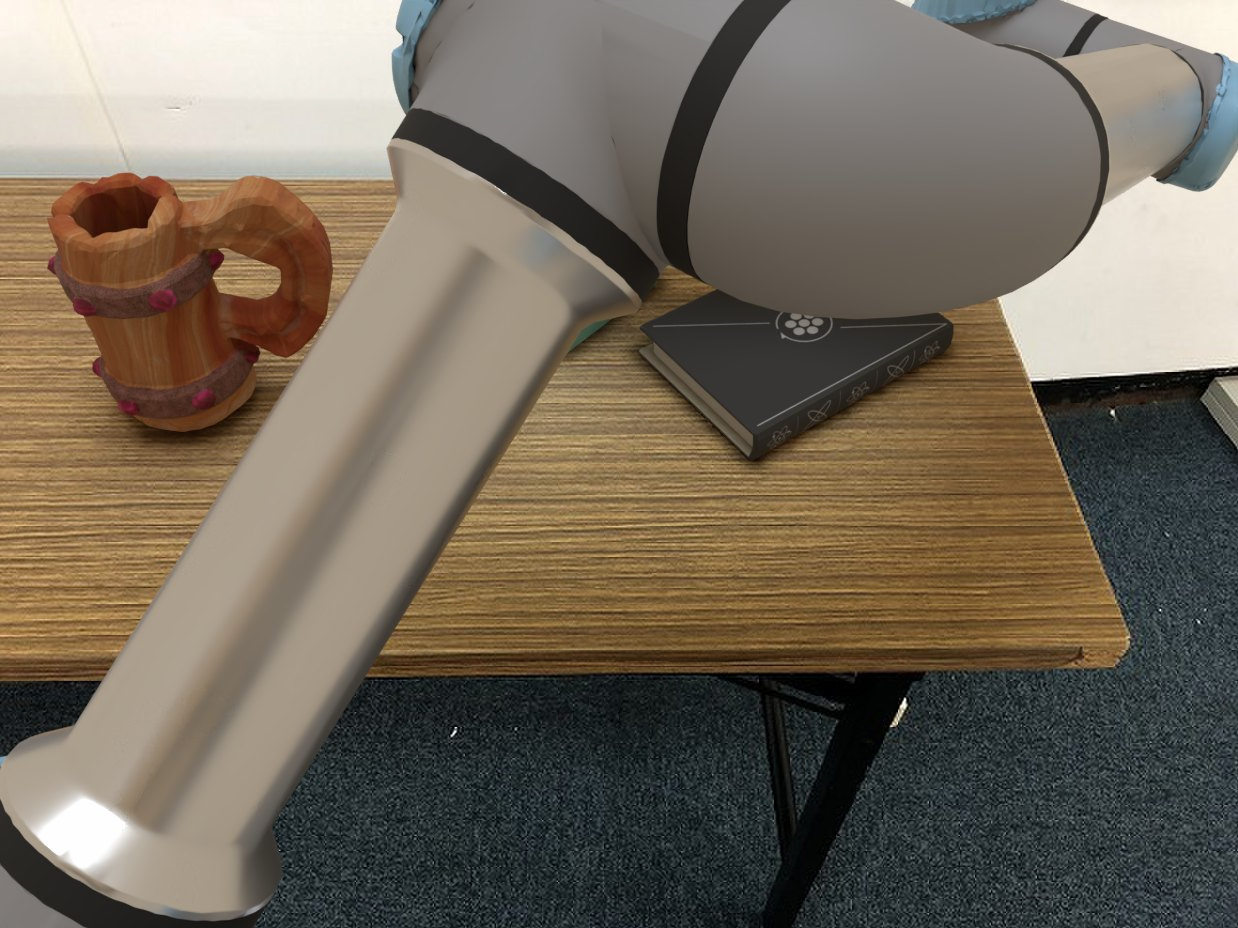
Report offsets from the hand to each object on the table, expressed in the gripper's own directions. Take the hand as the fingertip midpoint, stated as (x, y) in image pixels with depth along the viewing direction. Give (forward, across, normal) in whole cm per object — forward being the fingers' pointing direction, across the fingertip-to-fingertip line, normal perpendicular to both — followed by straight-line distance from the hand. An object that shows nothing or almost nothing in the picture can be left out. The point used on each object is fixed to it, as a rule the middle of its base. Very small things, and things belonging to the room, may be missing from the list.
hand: (494, 113), depth 83 cm
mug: (+18, -17, -17) cm, 30 cm away
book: (-25, -3, -17) cm, 31 cm away
